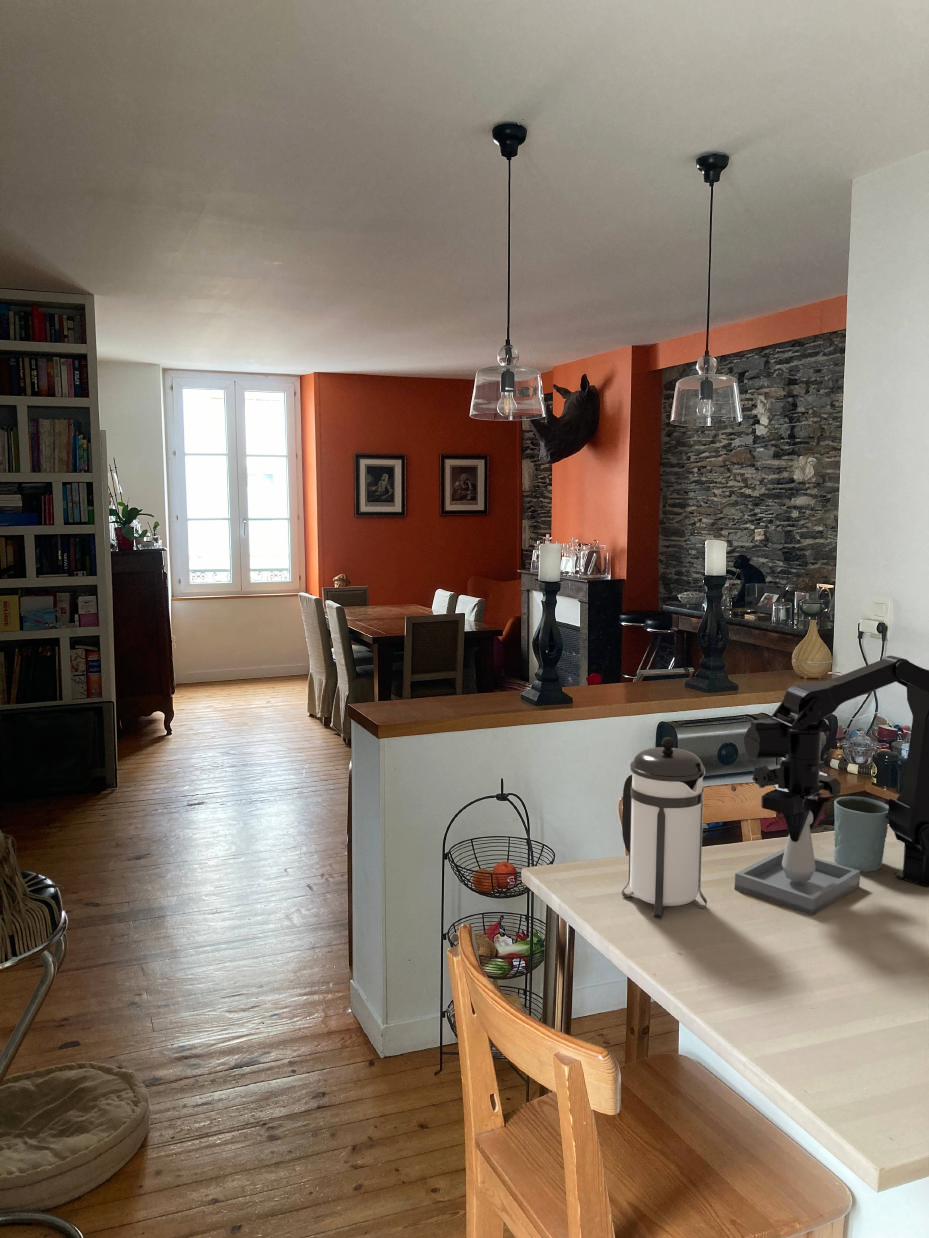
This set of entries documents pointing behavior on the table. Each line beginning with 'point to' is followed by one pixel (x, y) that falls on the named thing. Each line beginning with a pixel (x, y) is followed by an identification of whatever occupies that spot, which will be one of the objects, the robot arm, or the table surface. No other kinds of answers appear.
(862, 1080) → the table surface
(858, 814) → the teal cup
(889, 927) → the table surface
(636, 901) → the table surface
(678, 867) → the coffee press
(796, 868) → the salt shaker
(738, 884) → the tray
